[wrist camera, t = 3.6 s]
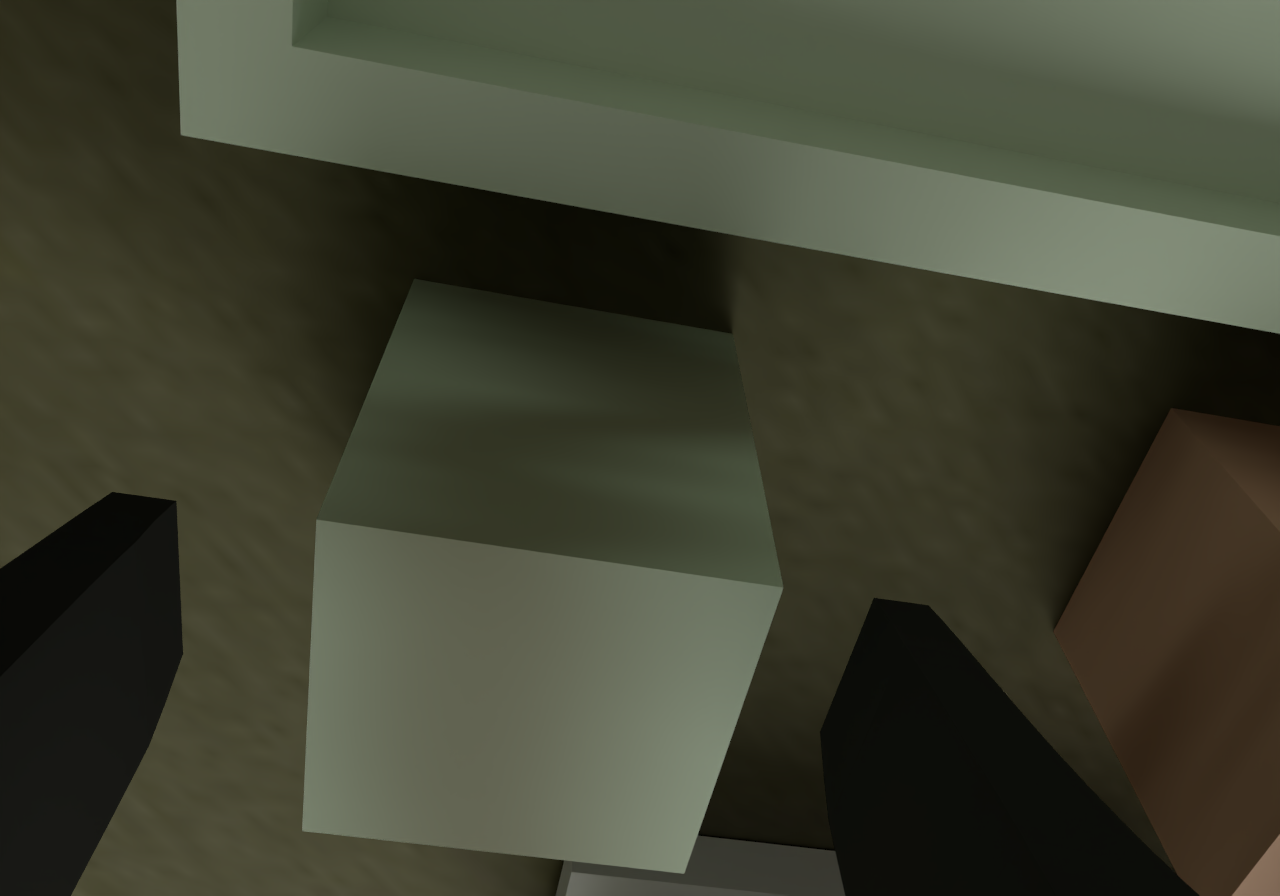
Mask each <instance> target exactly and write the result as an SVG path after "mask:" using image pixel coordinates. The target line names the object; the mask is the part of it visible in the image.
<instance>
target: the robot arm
mask: <svg viewBox="0 0 1280 896" xmlns="http://www.w3.org/2000/svg"><path fill="white" fill-rule="evenodd" d="M182 655H183V645H182V622H181V599H180V575H179V552H178V529H177V506H176V501H173V500H166V499H159V498H151V497H144V496H137V495H130V494H123V493H115V492H112V493H110V494H109V495H107V496H106V497H104V498H103V499H101V500H100V501H98V502H97V503H95V504H94V505H92V506H91V507H89V508H88V509H86V510H85V511H83V512H82V513H80V514H79V515H77V516H76V517H74V518H73V519H72V520H70V521H69V522H67V523H66V524H64V525H63V526H61V527H60V528H58V529H57V530H56V531H54V532H53V533H51V534H50V535H48V536H47V537H46V538H44V539H43V540H41V541H40V542H38V543H37V544H35V545H34V546H33V547H31V548H30V549H28V550H27V551H25V552H24V553H22V554H21V555H20V556H18V557H17V558H15V559H14V560H12V561H11V562H9V563H8V564H6V565H5V566H4V567H2V568H1V569H0V896H71V894H72V892H73V890H74V889H75V887H76V885H77V883H78V881H79V879H80V877H81V875H82V873H83V871H84V870H85V868H86V866H87V864H88V862H89V860H90V858H91V856H92V854H93V852H94V851H95V849H96V847H97V845H98V843H99V841H100V839H101V837H102V835H103V833H104V832H105V830H106V828H107V826H108V824H109V822H110V820H111V818H112V816H113V814H114V812H115V811H116V809H117V807H118V805H119V803H120V801H121V799H122V797H123V795H124V793H125V791H126V789H127V787H128V785H129V783H130V782H131V780H132V778H133V776H134V774H135V772H136V770H137V768H138V766H139V764H140V762H141V760H142V758H143V756H144V754H145V752H146V750H147V748H148V746H149V744H150V742H151V739H152V736H153V734H154V731H155V729H156V726H157V723H158V721H159V718H160V716H161V713H162V710H163V708H164V705H165V702H166V700H167V697H168V694H169V691H170V688H171V686H172V683H173V680H174V677H175V674H176V672H177V669H178V666H179V663H180V660H181V658H182ZM820 735H821V747H822V759H823V771H824V783H825V792H826V801H827V810H828V819H829V825H830V829H831V834H832V839H833V843H834V848H835V852H836V857H837V861H838V866H839V870H840V875H841V879H842V884H843V888H844V893H845V896H1200V895H1199V894H1198V893H1196V892H1195V891H1194V890H1193V889H1192V888H1191V887H1190V886H1189V885H1188V884H1186V883H1185V882H1184V881H1183V880H1182V879H1181V878H1180V877H1179V876H1178V875H1176V874H1175V873H1174V872H1173V871H1172V870H1171V869H1170V868H1169V867H1168V866H1167V865H1166V864H1165V863H1164V862H1163V861H1162V860H1161V859H1160V858H1159V857H1158V856H1156V855H1155V854H1154V853H1153V852H1152V851H1151V850H1150V849H1149V848H1148V847H1147V846H1146V845H1145V844H1144V843H1143V842H1142V841H1141V840H1140V839H1139V838H1138V837H1137V836H1136V835H1135V834H1134V833H1133V832H1132V831H1131V830H1130V829H1129V828H1128V827H1127V826H1126V825H1125V824H1124V823H1123V822H1122V821H1121V820H1120V819H1119V818H1118V817H1117V816H1116V814H1115V813H1114V812H1113V811H1112V810H1111V809H1110V808H1109V807H1108V806H1107V805H1106V804H1105V803H1104V802H1103V801H1102V800H1101V799H1100V798H1099V797H1098V796H1097V795H1096V794H1095V793H1094V792H1093V791H1092V790H1091V789H1090V788H1089V787H1088V786H1087V784H1086V783H1085V782H1084V781H1083V780H1082V779H1081V778H1080V777H1079V776H1078V775H1077V774H1076V773H1075V772H1074V771H1073V769H1072V768H1071V767H1070V766H1069V765H1068V764H1067V763H1066V762H1065V761H1064V760H1063V759H1062V757H1061V756H1060V755H1059V754H1058V753H1057V752H1056V751H1055V750H1054V749H1053V748H1052V746H1051V745H1050V744H1049V743H1048V742H1047V741H1046V740H1045V739H1044V737H1043V736H1042V735H1041V734H1040V733H1039V732H1038V731H1037V730H1036V728H1035V727H1034V726H1033V725H1032V724H1031V723H1030V722H1029V720H1028V719H1027V718H1026V717H1025V716H1024V715H1023V714H1022V712H1021V711H1020V710H1019V709H1018V708H1017V707H1016V705H1015V704H1014V703H1013V702H1012V701H1011V700H1010V699H1009V697H1008V696H1007V695H1006V694H1005V693H1004V692H1003V690H1002V689H1001V688H1000V687H999V686H998V685H997V683H996V682H995V681H994V680H993V679H992V677H991V676H990V675H989V674H988V673H987V672H986V670H985V669H984V668H983V667H982V666H981V665H980V663H979V662H978V661H977V660H976V659H975V658H974V656H973V655H972V654H971V653H970V652H969V651H968V649H967V648H966V647H965V646H964V645H963V644H962V642H961V641H960V640H959V639H958V638H957V637H956V635H955V634H954V633H953V632H952V631H951V630H950V629H949V627H948V626H947V625H946V624H945V623H944V622H943V621H942V620H941V618H940V617H939V616H938V615H937V614H936V613H935V612H934V611H933V610H932V609H931V608H930V607H929V606H928V605H921V604H914V603H907V602H900V601H892V600H885V599H878V598H874V599H873V602H872V604H871V607H870V609H869V612H868V614H867V617H866V619H865V622H864V624H863V627H862V629H861V632H860V634H859V637H858V639H857V642H856V644H855V646H854V649H853V651H852V654H851V656H850V659H849V661H848V664H847V666H846V669H845V671H844V674H843V676H842V679H841V681H840V684H839V686H838V689H837V691H836V694H835V696H834V699H833V701H832V704H831V706H830V709H829V711H828V714H827V716H826V719H825V721H824V724H823V726H822V729H821V731H820Z"/></svg>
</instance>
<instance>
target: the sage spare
mask: <svg viewBox="0 0 1280 896" xmlns="http://www.w3.org/2000/svg"><path fill="white" fill-rule="evenodd" d="M782 590H783V583H782V578H781V573H780V568H779V563H778V558H777V553H776V548H775V543H774V538H773V533H772V528H771V523H770V518H769V513H768V508H767V503H766V498H765V493H764V488H763V483H762V478H761V473H760V468H759V463H758V458H757V453H756V448H755V443H754V438H753V433H752V428H751V423H750V418H749V413H748V408H747V403H746V398H745V393H744V388H743V383H742V378H741V373H740V368H739V363H738V358H737V353H736V348H735V343H734V338H733V334H731V333H725V332H719V331H713V330H708V329H702V328H696V327H690V326H684V325H679V324H673V323H667V322H661V321H656V320H650V319H644V318H638V317H633V316H627V315H621V314H615V313H609V312H604V311H598V310H592V309H586V308H581V307H575V306H569V305H563V304H557V303H552V302H546V301H540V300H534V299H529V298H523V297H517V296H511V295H505V294H500V293H494V292H488V291H482V290H477V289H471V288H465V287H459V286H454V285H448V284H442V283H436V282H430V281H425V280H419V279H414V280H413V283H412V285H411V288H410V290H409V293H408V295H407V298H406V300H405V303H404V305H403V308H402V310H401V313H400V315H399V317H398V320H397V322H396V325H395V327H394V330H393V332H392V335H391V337H390V340H389V342H388V345H387V347H386V349H385V352H384V354H383V357H382V359H381V362H380V364H379V367H378V369H377V372H376V374H375V377H374V379H373V382H372V384H371V386H370V389H369V391H368V394H367V396H366V399H365V401H364V404H363V406H362V409H361V411H360V414H359V416H358V419H357V421H356V423H355V426H354V428H353V431H352V433H351V436H350V438H349V441H348V443H347V446H346V448H345V451H344V453H343V455H342V458H341V460H340V463H339V465H338V468H337V470H336V473H335V475H334V478H333V480H332V483H331V485H330V488H329V490H328V492H327V495H326V497H325V500H324V502H323V505H322V507H321V510H320V512H319V515H318V517H317V520H316V541H315V563H314V585H313V607H312V629H311V651H310V672H309V694H308V716H307V738H306V760H305V782H304V804H303V826H302V831H307V832H316V833H325V834H334V835H343V836H352V837H361V838H370V839H379V840H388V841H397V842H406V843H415V844H423V845H432V846H441V847H450V848H459V849H468V850H477V851H486V852H495V853H504V854H513V855H522V856H530V857H539V858H548V859H557V860H566V861H575V862H584V863H593V864H602V865H611V866H620V867H629V868H637V869H646V870H655V871H664V872H673V873H682V874H684V873H685V870H686V867H687V864H688V861H689V859H690V856H691V853H692V850H693V847H694V844H695V841H696V838H697V835H698V833H699V830H700V827H701V824H702V821H703V818H704V815H705V812H706V810H707V807H708V804H709V801H710V798H711V795H712V792H713V789H714V786H715V784H716V781H717V778H718V775H719V772H720V769H721V766H722V763H723V761H724V758H725V755H726V752H727V749H728V746H729V743H730V740H731V737H732V735H733V732H734V729H735V726H736V723H737V720H738V717H739V714H740V712H741V709H742V706H743V703H744V700H745V697H746V694H747V691H748V688H749V686H750V683H751V680H752V677H753V674H754V671H755V668H756V665H757V663H758V660H759V657H760V654H761V651H762V648H763V645H764V642H765V639H766V637H767V634H768V631H769V628H770V625H771V622H772V619H773V616H774V614H775V611H776V608H777V605H778V602H779V599H780V596H781V593H782Z"/></svg>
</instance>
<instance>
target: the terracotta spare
mask: <svg viewBox="0 0 1280 896" xmlns="http://www.w3.org/2000/svg"><path fill="white" fill-rule="evenodd" d="M1053 632H1054V634H1055V636H1056V638H1057V640H1058V642H1059V644H1060V646H1061V648H1062V650H1063V652H1064V654H1065V656H1066V658H1067V660H1068V662H1069V664H1070V665H1071V667H1072V669H1073V671H1074V673H1075V675H1076V677H1077V679H1078V681H1079V683H1080V685H1081V687H1082V689H1083V691H1084V693H1085V695H1086V697H1087V699H1088V701H1089V703H1090V705H1091V707H1092V709H1093V711H1094V713H1095V714H1096V716H1097V718H1098V720H1099V722H1100V724H1101V726H1102V728H1103V730H1104V732H1105V734H1106V736H1107V738H1108V740H1109V742H1110V744H1111V746H1112V748H1113V750H1114V752H1115V754H1116V756H1117V758H1118V760H1119V762H1120V763H1121V765H1122V767H1123V769H1124V771H1125V773H1126V775H1127V777H1128V779H1129V781H1130V783H1131V785H1132V787H1133V789H1134V791H1135V793H1136V795H1137V797H1138V799H1139V801H1140V803H1141V805H1142V807H1143V809H1144V811H1145V813H1146V814H1147V816H1148V818H1149V820H1150V822H1151V824H1152V826H1153V828H1154V830H1155V832H1156V834H1157V836H1158V838H1159V840H1160V842H1161V844H1162V846H1163V848H1164V850H1165V852H1166V854H1167V856H1168V858H1169V860H1170V862H1171V863H1172V865H1173V867H1174V869H1175V871H1176V873H1177V875H1178V876H1179V877H1180V878H1181V879H1182V880H1183V881H1184V882H1185V883H1186V884H1188V885H1189V886H1190V887H1191V888H1192V889H1193V890H1194V891H1195V892H1196V893H1198V894H1199V895H1200V896H1280V426H1275V425H1269V424H1263V423H1258V422H1252V421H1246V420H1240V419H1234V418H1228V417H1222V416H1216V415H1210V414H1204V413H1198V412H1193V411H1187V410H1181V409H1175V408H1171V409H1170V411H1169V413H1168V415H1167V417H1166V419H1165V421H1164V422H1163V424H1162V426H1161V428H1160V430H1159V432H1158V434H1157V436H1156V438H1155V440H1154V441H1153V443H1152V445H1151V447H1150V449H1149V451H1148V453H1147V455H1146V457H1145V459H1144V460H1143V462H1142V464H1141V466H1140V468H1139V470H1138V472H1137V474H1136V476H1135V478H1134V479H1133V481H1132V483H1131V485H1130V487H1129V489H1128V491H1127V493H1126V495H1125V497H1124V498H1123V500H1122V502H1121V504H1120V506H1119V508H1118V510H1117V512H1116V514H1115V515H1114V517H1113V519H1112V521H1111V523H1110V525H1109V527H1108V529H1107V531H1106V533H1105V534H1104V536H1103V538H1102V540H1101V542H1100V544H1099V546H1098V548H1097V550H1096V552H1095V553H1094V555H1093V557H1092V559H1091V561H1090V563H1089V565H1088V567H1087V569H1086V571H1085V572H1084V574H1083V576H1082V578H1081V580H1080V582H1079V584H1078V586H1077V588H1076V590H1075V591H1074V593H1073V595H1072V597H1071V599H1070V601H1069V603H1068V605H1067V607H1066V609H1065V610H1064V612H1063V614H1062V616H1061V618H1060V620H1059V622H1058V624H1057V626H1056V628H1055V629H1054V631H1053Z"/></svg>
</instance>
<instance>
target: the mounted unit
mask: <svg viewBox="0 0 1280 896" xmlns="http://www.w3.org/2000/svg"><path fill="white" fill-rule="evenodd" d="M556 896H845V893H844V888H843V884H842V879H841V875H840V870H839V866H838V861H837V857H836V852H835V851H830V850H821V849H812V848H803V847H794V846H785V845H777V844H768V843H759V842H750V841H741V840H733V839H724V838H715V837H706V836H697V838H696V841H695V844H694V847H693V850H692V853H691V856H690V859H689V861H688V864H687V867H686V870H685V873H684V874H682V873H673V872H664V871H655V870H646V869H637V868H629V867H620V866H611V865H602V864H593V863H584V862H575V861H566V860H564V863H563V868H562V872H561V876H560V880H559V884H558V888H557V892H556Z"/></svg>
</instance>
